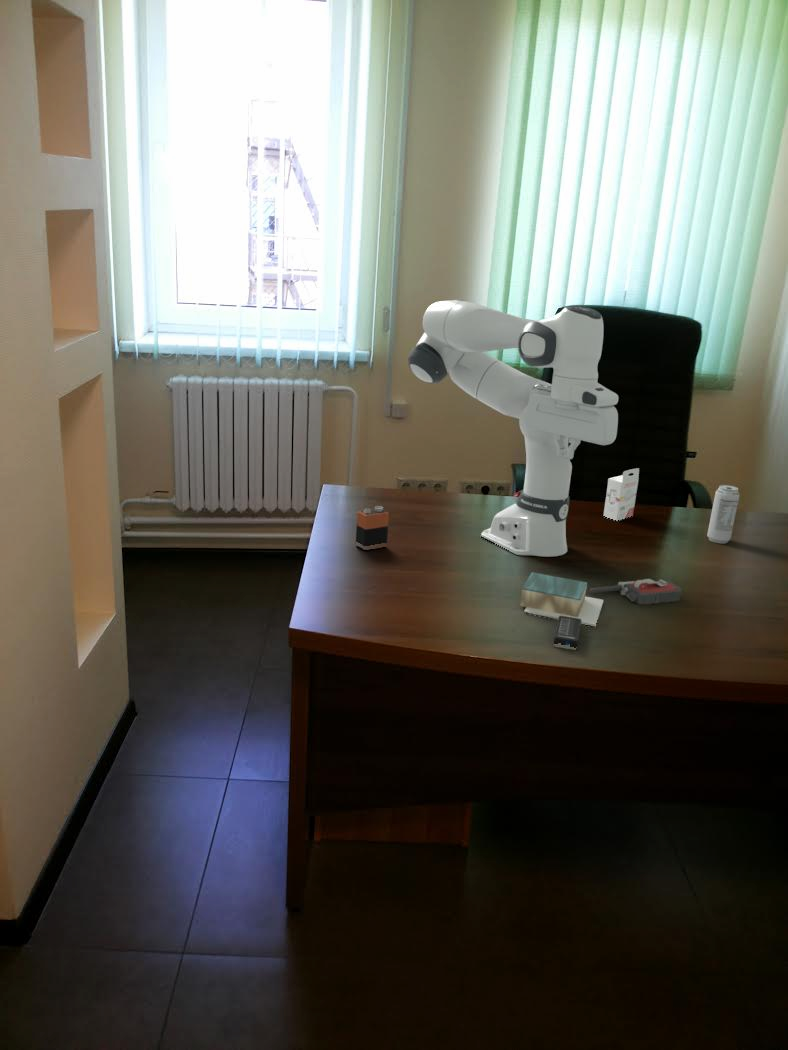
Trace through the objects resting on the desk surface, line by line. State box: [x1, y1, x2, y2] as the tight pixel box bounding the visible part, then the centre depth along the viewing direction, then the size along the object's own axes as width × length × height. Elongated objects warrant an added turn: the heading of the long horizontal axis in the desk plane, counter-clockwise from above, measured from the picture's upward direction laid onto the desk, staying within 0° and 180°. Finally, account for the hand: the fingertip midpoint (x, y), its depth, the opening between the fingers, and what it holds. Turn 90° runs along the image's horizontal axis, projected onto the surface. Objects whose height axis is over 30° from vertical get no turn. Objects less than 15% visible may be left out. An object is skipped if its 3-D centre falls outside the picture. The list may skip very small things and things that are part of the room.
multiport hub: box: [553, 616, 582, 648], centre depth 161 cm, size 4×11×2 cm, turn 164°
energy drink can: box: [706, 484, 740, 544], centre depth 223 cm, size 6×6×15 cm
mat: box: [523, 595, 604, 628], centre depth 175 cm, size 14×14×1 cm
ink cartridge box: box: [603, 467, 640, 522], centre depth 238 cm, size 9×5×15 cm, turn 132°
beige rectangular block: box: [519, 571, 588, 617], centre depth 175 cm, size 4×10×12 cm
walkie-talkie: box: [589, 578, 682, 605], centre depth 183 cm, size 9×4×20 cm
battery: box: [355, 505, 390, 546], centre depth 201 cm, size 4×7×10 cm, turn 126°
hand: (564, 457), depth 170 cm, fingers closed
